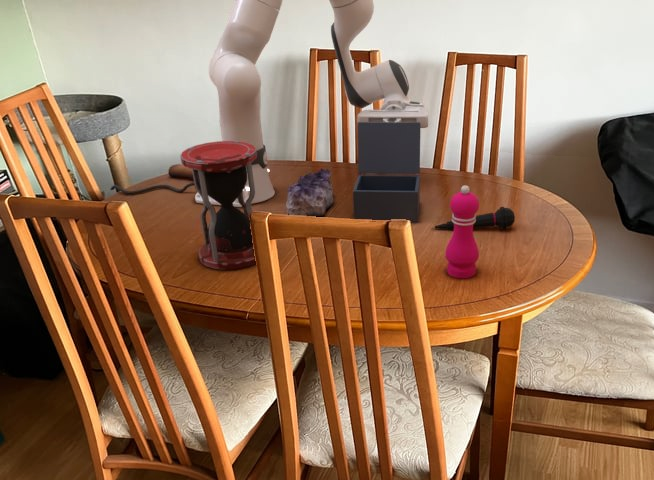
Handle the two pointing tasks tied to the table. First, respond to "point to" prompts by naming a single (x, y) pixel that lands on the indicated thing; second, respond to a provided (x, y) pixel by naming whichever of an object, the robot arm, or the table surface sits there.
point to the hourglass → (224, 201)
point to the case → (387, 197)
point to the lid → (389, 147)
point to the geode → (310, 194)
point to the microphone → (488, 220)
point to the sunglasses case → (180, 171)
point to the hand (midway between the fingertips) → (391, 126)
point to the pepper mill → (463, 235)
